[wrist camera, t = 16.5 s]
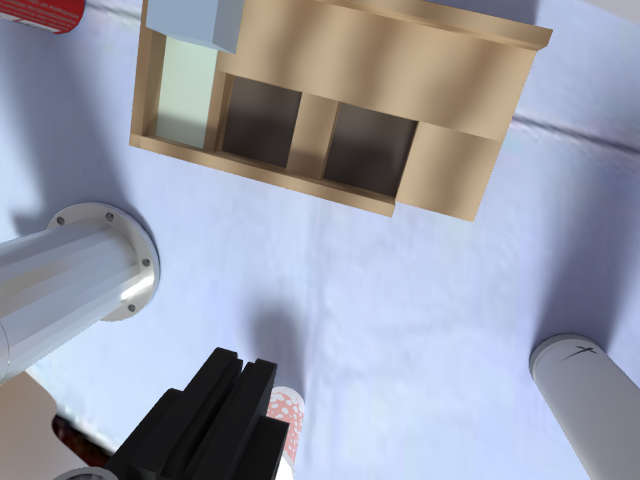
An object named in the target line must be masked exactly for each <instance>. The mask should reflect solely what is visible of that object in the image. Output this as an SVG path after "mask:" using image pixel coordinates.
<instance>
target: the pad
mask: <svg viewBox="0 0 640 480" xmlns="http://www.w3.org/2000/svg"><path fill="white" fill-rule="evenodd" d="M217 52H218V50H215V49H211V48H207V47H203V46H199V45H195V44H191V43H187V42H183V41H179V40H176V39H174V38H171V37H169V36H167V37H166V46H165V55H164V64H163V72H162V81H161V90H160V99H159V107H158V116H157V125H156V133H155V136H157V137H161V138H165V139H168V140H172V141H176V142H179V143H183V144H187V145H190V146H194V147H198V148H202V149H203V146H204V145H203V144H204V141H205V140H204V138H205V135H206V134H205V131H206V126H207V121H208V120H207V118H208V114H209V113H208V112H209V108H210V107H209V105H210V102H211V101H210V99H211V95H212V88H213V87H212V85H213V78H214V73H215V67H216V58H217V54H218V53H217Z"/></svg>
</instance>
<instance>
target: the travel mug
mask: <svg viewBox="0 0 640 480" xmlns="http://www.w3.org/2000/svg"><path fill="white" fill-rule="evenodd" d="M529 369H530V374H531V376H532V378H533V380H534V382H535V384H536V385H537V387H538V389H539V391H540V392H541V394H542V396H543V398H544V399H545V401H546V403H547V404H548V406H549V408H550V410H551V411H552V413H553V415H554V417H555V418H556V420H557V422H558V424H559V425H560V427H561V429H562V431H563V432H564V434H565V436H566V437H567V439H568V441H569V443H570V444H571V446H572V448H573V450H574V451H575V453H576V455H577V457H578V458H579V460H580V462H581V464H582V465H583V467H584V469H585V470H586V472H587V474H588V476H589V477H590V479H591V480H640V389H639V387H638V386H637V385H636V384H635V383H634V382H633V381H632V380H631V379H630V378H629V377H628V376H627V375H626V374H625V373H624V372H623V371H622V370H621V369H620V368H619V367H618V366H617V365H616V364H615V363H614V362H613V361H612V360H611V359H610V357H609V356H607V355H606V353H605V352H604V351H603V350H602V349H601V348H600V347H599V346H598V345H597V344H596V343H595V342H593V341H592V340H590V339H589V338H586V337H584V336H581V335H576V334H562V335H557V336H553V337H551V338H549V339H547V340H545V341H543V342H542V343H541V344H539V346H538V347H537V348H536V349H535V350H534V352H533V354H532V355H531V358H530V363H529Z"/></svg>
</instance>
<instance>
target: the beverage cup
mask: <svg viewBox="0 0 640 480" xmlns="http://www.w3.org/2000/svg"><path fill="white" fill-rule="evenodd" d="M304 412H305V404H304V400H303V399H302V397H301V396H300V394H299V393H297V392H296V391H294V390H293V389H291V388H287V387H275V388H273V389H272V393H271V397H270V402H269V406H268V411H267V415H266V416H268V417H271V418H275V419H278V420H281V421H285V422H288V423H290V424H289V429H288V433H287V438H286V442H285V446H284V450H283V454H282V457H281V461H280V465H279V468H278V472H277V476H276V479H275V480H293V479H294V474H295V471H294V466H293V465H294V461H295V456H296V451H297V446H298V441H299V436H300V431H301V427H302V422H303V417H304Z"/></svg>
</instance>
